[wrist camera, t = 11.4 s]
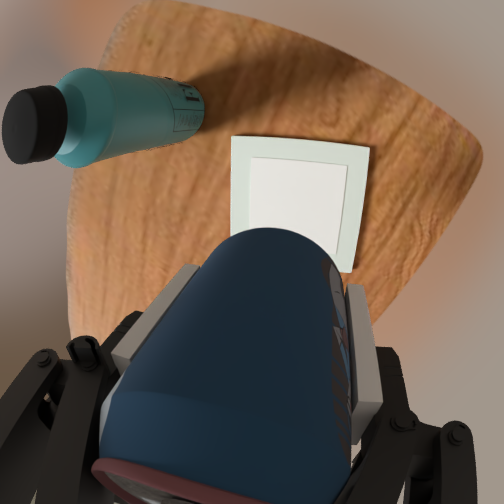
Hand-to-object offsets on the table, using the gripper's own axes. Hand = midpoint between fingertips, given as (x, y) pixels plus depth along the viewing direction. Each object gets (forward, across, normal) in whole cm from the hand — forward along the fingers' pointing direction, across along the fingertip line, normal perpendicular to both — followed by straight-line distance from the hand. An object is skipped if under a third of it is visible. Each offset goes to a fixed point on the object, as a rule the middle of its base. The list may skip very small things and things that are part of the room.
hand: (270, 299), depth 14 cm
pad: (+17, 0, 0) cm, 17 cm away
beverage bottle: (+17, +12, -9) cm, 23 cm away
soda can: (+2, 0, 0) cm, 2 cm away
